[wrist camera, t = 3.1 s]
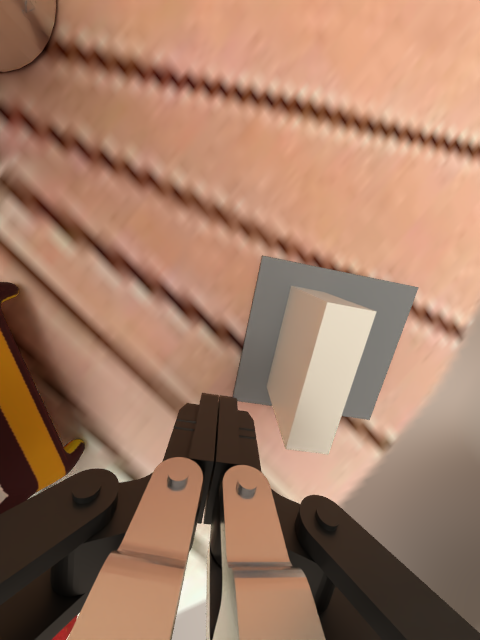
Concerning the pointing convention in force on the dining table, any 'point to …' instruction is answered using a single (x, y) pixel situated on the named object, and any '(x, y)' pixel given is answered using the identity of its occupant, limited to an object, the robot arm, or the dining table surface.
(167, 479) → the robot arm
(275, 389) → the block
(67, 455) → the decorative lantern
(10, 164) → the dining table surface
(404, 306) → the mat
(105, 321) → the dining table surface
